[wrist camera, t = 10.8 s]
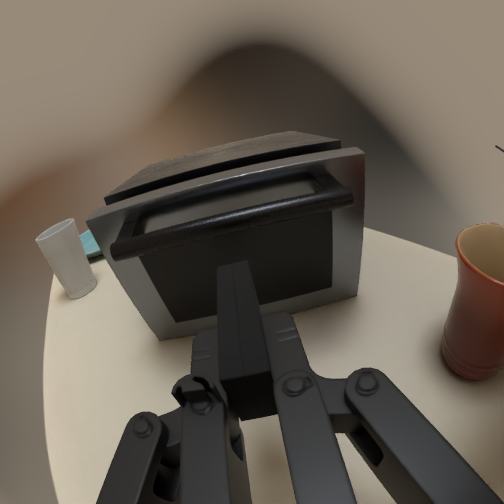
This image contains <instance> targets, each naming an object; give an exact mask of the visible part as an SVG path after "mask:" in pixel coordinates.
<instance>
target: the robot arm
mask: <svg viewBox="0 0 504 504" xmlns="http://www.w3.org/2000/svg"><path fill="white" fill-rule="evenodd" d="M496 147H497V148H498V149H500V150H501V151H503V152H504V150H503V149H501V148H500V147H498V146H496ZM171 394H172V395H173V396H174V398H175V399H176V400H177V401H178V403H179V404H180V405H181V406H180V407H179V408H178V409H176V410H174V411H171V412H169V413H166V414H164V415H161V416H157V415H156V414H154V413H151V412H141V413H138V414H136V415H135V416H133V417H132V418H131V419H130V420H129V422H128V423H127V425H126V428H125V430H124V433H123V435H122V437H121V440H120V442H119V445H118V447H117V450H116V452H115V455H114V457H113V460H112V462H111V465H110V467H109V470H108V473H107V475H106V478H105V481H104V483H103V486H102V489H101V491H100V494H99V497H98V499H97V502H96V504H252V499H251V492H250V484H249V477H248V469H247V461H246V453H245V445H244V437H243V433H242V430H241V428H240V426H239V418H240V420H241V421H245V420H251V419H256V418H262V417H267V416H271V415H276V414H278V417H279V421H280V426H281V431H282V436H283V441H284V446H285V451H286V456H287V460H288V465H289V470H290V475H291V480H292V484H293V489H294V494H295V499H296V503H297V504H357V501H356V498H355V495H354V492H353V488H352V485H351V482H350V479H349V476H348V473H347V469H346V466H345V463H344V460H343V457H342V454H341V451H340V448H339V445H338V441H337V438H336V435H335V433H345V434H346V436H347V437H348V439H349V440H350V441H351V443H352V444H353V445H354V447H355V448H356V450H357V451H358V452H359V454H360V455H361V456H362V458H363V459H364V461H365V462H366V463H367V465H368V466H369V467H370V469H371V470H372V471H373V473H374V474H375V475H376V477H377V478H378V479H379V481H380V482H381V483H382V485H383V486H384V487H385V489H386V490H387V491H388V493H389V494H390V495H391V497H392V498H393V499H394V500H395V502H396V503H397V504H504V503H503V501H502V500H501V499H500V498H499V497H498V496H497V495H496V494H495V493H494V491H493V490H492V489H491V488H490V487H489V486H488V485H487V484H486V483H485V481H484V480H483V479H482V478H481V477H480V476H479V475H478V474H477V473H476V472H475V470H474V469H473V468H472V467H471V466H470V465H469V464H468V463H467V462H466V461H465V459H464V458H463V457H462V456H461V455H460V454H459V453H458V452H457V451H456V450H455V449H454V448H453V446H452V445H451V444H450V443H449V442H448V441H447V440H446V439H445V438H444V437H443V436H442V435H441V434H440V432H439V431H438V430H437V429H436V428H435V427H434V426H433V425H432V424H431V423H430V422H429V421H428V420H427V419H426V417H425V416H424V415H423V414H422V413H421V412H420V411H419V410H418V409H417V408H416V407H415V406H414V405H413V404H412V403H411V401H410V400H409V399H408V398H407V397H406V396H405V395H404V394H403V393H402V392H401V391H400V390H399V389H398V388H397V387H396V386H395V385H394V384H393V382H392V381H391V380H390V379H389V378H388V377H387V376H386V375H385V374H384V373H382V372H381V371H379V370H378V369H374V368H361V369H359V370H356V371H354V372H353V373H352V374H351V375H349V376H348V378H345V379H329V378H324V377H321V376H319V375H317V374H316V373H315V372H314V371H313V370H312V369H311V367H310V365H309V362H308V360H307V357H306V354H305V351H304V348H303V345H302V342H301V339H300V337H299V334H298V331H297V328H296V325H295V322H294V319H293V317H292V316H290V315H289V314H288V313H287V312H286V311H281V312H277V313H273V314H269V315H265V316H261V311H260V307H259V302H258V298H257V294H256V290H255V287H254V283H253V279H252V275H251V271H250V267H249V263H248V260H245V261H241V262H236V263H232V264H228V265H224V266H220V267H217V327H214V328H209V329H204V330H199V331H198V332H197V334H196V336H195V337H194V339H193V344H192V361H191V374H189V375H186V376H184V377H183V378H181V379H180V380H178V381H177V383H176V384H175V385H174V386H173V389H172V392H171Z"/></svg>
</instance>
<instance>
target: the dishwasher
mask: <svg viewBox="0 0 504 504" xmlns="http://www.w3.org/2000/svg"><path fill="white" fill-rule="evenodd" d="M337 149H341V142H340V140H337V139H332V138H328V137H322V136H317V135H312V134H307V133H301V132H295V131H288V132H282V133H276V134H271V135H266V136H261V137H255V138H251V139H246V140H241V141H237V142H232V143H228V144H224V145H219V146H216V147H211V148H207V149H204V150H200V151H196V152H192V153H189V154H185V155H182V156H178V157H174V158H171V159H168V160H164V161H161V162H158V163H155V164H152V165H149V166H147V167H146V168H144V169H143V170H141V171H140V172H138V173H137V174H136V175H134V176H133V177H131V178H130V179H128V180H127V181H126V182H124V183H123V184H122V185H120V186H119V187H117V188H116V189H115V190H113V191H112V192H111V193H110V194H108V195H107V196H105V197H104V200H105V202H106V205H107V206H108V205H111V204H114V203H116V202H119V201H122V200H125V199H128V198H131V197H135V196H138V195H141V194H144V193H147V192H150V191H154V190H157V189H160V188H164V187H167V186H171V185H174V184H178V183H181V182H185V181H188V180H192V179H196V178H200V177H203V176H207V175H211V174H215V173H219V172H223V171H228V170H232V169H236V168H241V167H245V166H249V165H254V164H259V163H264V162H268V161H273V160H278V159H284V158H289V157H294V156H300V155H306V154H312V153H318V152H324V151H331V150H337Z"/></svg>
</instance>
